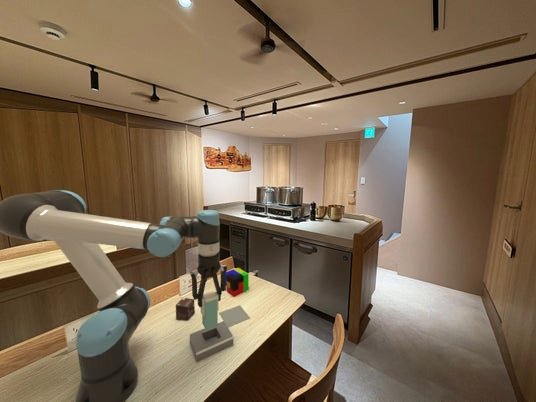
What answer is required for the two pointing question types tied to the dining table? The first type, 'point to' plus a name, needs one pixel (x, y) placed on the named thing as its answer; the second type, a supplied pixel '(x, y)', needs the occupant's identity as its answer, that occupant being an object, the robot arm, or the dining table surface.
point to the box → (185, 309)
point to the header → (210, 341)
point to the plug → (210, 311)
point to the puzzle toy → (237, 282)
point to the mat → (234, 316)
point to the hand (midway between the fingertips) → (209, 311)
